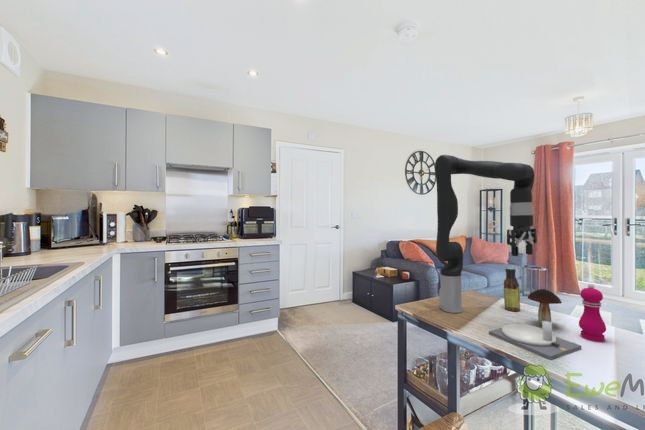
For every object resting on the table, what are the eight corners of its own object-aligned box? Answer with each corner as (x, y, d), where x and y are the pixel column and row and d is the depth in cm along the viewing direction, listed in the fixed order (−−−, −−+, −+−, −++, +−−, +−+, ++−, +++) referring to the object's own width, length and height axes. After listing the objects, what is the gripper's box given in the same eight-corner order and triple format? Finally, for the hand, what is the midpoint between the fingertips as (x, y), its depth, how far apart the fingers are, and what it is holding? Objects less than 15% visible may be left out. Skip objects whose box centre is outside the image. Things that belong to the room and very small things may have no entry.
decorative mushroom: (550, 321, 118) (549, 286, 118) (569, 331, 107) (568, 293, 107) (522, 320, 120) (521, 285, 120) (538, 330, 109) (537, 292, 109)
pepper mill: (573, 334, 105) (572, 282, 105) (591, 333, 106) (589, 281, 106) (593, 343, 98) (592, 287, 98) (612, 341, 98) (611, 286, 98)
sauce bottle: (522, 312, 129) (521, 269, 129) (507, 311, 130) (506, 269, 130) (516, 307, 135) (515, 267, 135) (501, 307, 137) (500, 267, 137)
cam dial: (492, 331, 106) (491, 312, 106) (519, 324, 112) (519, 306, 112) (543, 352, 90) (542, 330, 90) (572, 342, 96) (572, 322, 96)
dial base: (489, 334, 107) (488, 330, 107) (517, 326, 113) (517, 323, 113) (550, 360, 87) (550, 355, 87) (581, 349, 94) (581, 345, 94)
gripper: (519, 214, 103) (520, 258, 103) (543, 213, 108) (544, 255, 108) (499, 214, 109) (500, 255, 109) (523, 214, 115) (524, 252, 115)
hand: (522, 255), depth 109 cm, fingers open, 8 cm apart
